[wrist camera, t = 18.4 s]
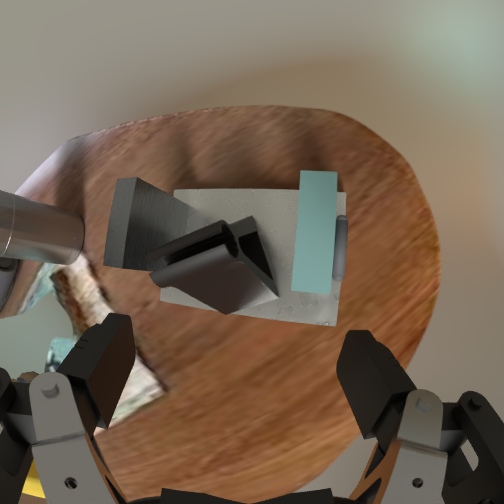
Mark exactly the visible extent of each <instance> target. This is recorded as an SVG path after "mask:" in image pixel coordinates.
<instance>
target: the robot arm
mask: <svg viewBox="0 0 504 504" xmlns="http://www.w3.org/2000/svg"><path fill="white" fill-rule="evenodd" d="M83 240H84V225H83V221H82V219H81V217H80V216H79V215H78V214H77V213H75V212H72V211H68V210H65V209H61V208H58V207H55V206H52V205H48V204H45V203H41V202H38V201H35V200H31V199H28V198H25V197H21V196H18V195H15V194H11V193H8V192H4V191H1V190H0V257H7V258H14V259H22V260H30V261H37V262H46V263H54V264H62V265H70V264H72V263H73V262H74V261H75V260H76V259H77V257H78V256H79V254H80V251H81V249H82V245H83ZM135 355H136V350H135V343H134V336H133V329H132V321H131V317H130V316H129V315H123V314H117V313H109V314H108V315H107V317H106V318H105V319H104V321H103V322H102V323H101V324H97V323H96V324H95V325H93V326H92V327H90V328H88V329H87V330H86V331H85V332H84V333H83V335H82V336H81V337H80V340H78V341H77V343H76V344H75V345H74V347H73V348H72V349H71V351H70V352H69V354H68V355H67V356H66V358H65V359H64V360H63V362H62V363H61V365H60V366H59V368H58V369H57V370H56V372H46V373H42V374H40V375H38V376H37V377H35V378H34V379H33V380H32V382H31V383H22V382H12V380H11V378H10V376H9V374H8V372H7V371H6V370H5V369H3V368H0V424H1V426H2V427H3V430H2V432H1V434H0V504H18V502H19V499H20V496H21V493H22V490H23V487H24V484H25V481H26V478H27V475H28V472H29V470H30V467H31V464H32V462H33V459H34V462H35V466H36V469H37V473H38V476H39V480H40V483H41V486H42V489H43V492H44V495H45V498H46V501H47V504H246V503H241V502H236V501H231V500H227V499H223V498H219V497H215V496H212V495H208V494H205V493H195V492H187V491H179V490H172V489H166V488H162V491H161V496H156V497H147V498H142V499H137V500H134V501H131V502H128V500H127V499H126V497H125V495H124V494H123V492H122V491H121V489H120V487H119V486H118V484H117V483H116V481H115V479H114V477H113V475H112V473H111V471H110V469H109V467H108V465H107V463H106V461H105V459H104V457H103V455H102V453H101V450H100V448H99V446H98V444H97V441H96V439H95V437H94V435H93V433H94V431H95V428H96V426H97V427H100V428H104V429H108V427H109V424H110V422H111V419H112V416H113V414H114V411H115V409H116V406H117V404H118V401H119V399H120V396H121V394H122V391H123V389H124V387H125V384H126V382H127V380H128V377H129V375H130V373H131V370H132V368H133V366H134V362H135ZM336 371H337V377H338V379H339V381H340V384H341V386H342V388H343V391H344V393H345V395H346V398H347V400H348V402H349V405H350V407H351V409H352V412H353V414H354V416H355V419H356V421H357V423H358V426H359V428H360V431H361V433H362V435H363V438H364V439H369V438H374V437H376V438H377V440H378V442H377V443H376V445H375V446H374V449H373V451H372V454H371V456H370V459H369V461H368V463H367V466H366V468H365V471H364V473H363V475H362V477H361V479H360V481H359V483H358V485H357V487H356V488H355V490H354V491H353V492H352V494H351V495H350V496H349V498H342V497H333V495H332V491H331V488H328V489H321V490H315V491H307V492H299V493H291V494H287V495H284V496H280V497H277V498H273V499H269V500H265V501H261V502H257V503H252V504H439V501H440V497H441V495H442V497H443V500H444V502H445V504H504V423H503V422H502V420H501V419H500V417H499V416H498V414H497V413H496V412H495V410H494V409H493V408H492V406H491V405H490V403H489V402H488V401H487V399H486V398H485V397H484V396H482V395H481V394H479V393H477V392H474V391H467V392H465V393H463V394H462V396H461V397H460V399H459V400H458V402H457V403H443V402H442V401H441V400H440V398H439V397H438V396H437V395H435V394H434V393H433V392H430V391H428V390H424V389H417V388H416V386H415V385H414V383H413V382H412V381H411V379H410V378H409V376H408V375H407V373H406V372H405V371H404V369H403V368H402V366H400V363H399V362H398V361H397V359H395V357H394V355H393V354H392V352H391V351H390V350H389V349H388V348H387V347H386V346H384V345H383V344H382V343H380V342H377V341H376V339H375V338H374V337H373V335H372V334H371V332H370V331H369V330H349V331H348V332H347V334H346V337H345V340H344V343H343V346H342V349H341V352H340V355H339V358H338V361H337V367H336ZM467 439H468V440H469V442H470V443H471V445H472V447H473V449H474V451H475V452H476V454H477V456H478V459H479V462H478V466H477V468H476V469H475V470H474V471H472V469H471V467H470V465H469V463H468V461H467V459H466V457H465V455H464V453H463V452H462V450H461V448H460V447H461V446H462V445H463V444H464V443H465V442H466V440H467Z"/></svg>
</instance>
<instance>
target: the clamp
mask: <svg viewBox="0 0 504 504" xmlns="http://www.w3.org/2000/svg"><path fill="white" fill-rule="evenodd" d="M22 493H26V494H30V495H34V496H37V497H42V498H45V495H44V492H43V489H42V486H41V483H40V480H39V476H38V473H37V469H36V466H35V462H34V459H33V462H32V464H31V467H30V470H29V472H28V475H27V478H26V481H25V484H24V487H23V490H22Z"/></svg>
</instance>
